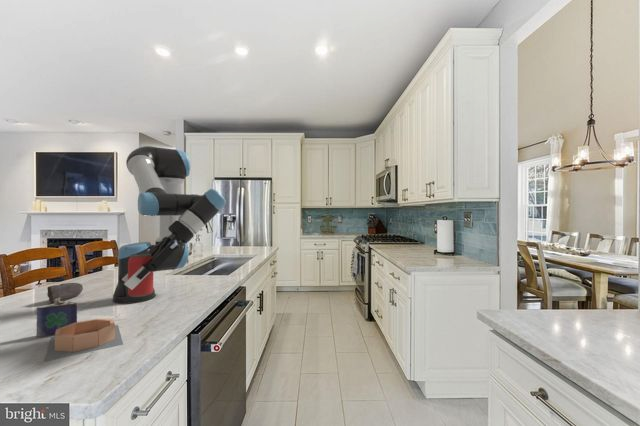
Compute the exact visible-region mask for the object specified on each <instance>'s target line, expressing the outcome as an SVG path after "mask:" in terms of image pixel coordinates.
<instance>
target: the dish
mask: <svg viewBox="0 0 640 426" xmlns="http://www.w3.org/2000/svg"><path fill="white" fill-rule="evenodd" d="M115 325H116V324H115V320H114V319H111V318H110V319H109V318H94V319H89V320H88V319H87V320H82V321H77V322H75V323H72V324H69V325H67V326H64V327H61V328H59V329H57V330H56V332H55V335H54V337H55V348H54V350H55V351H68V352H74V351H79V350H84V349H88V348H93V347H98V346H100V345H102V344H104V343H106V342H108V341H110V340H112V339H114V338H115Z"/></svg>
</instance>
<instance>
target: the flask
mask: <svg viewBox="0 0 640 426" xmlns="http://www.w3.org/2000/svg"><path fill="white" fill-rule="evenodd" d="M54 301H55V302H53V303H54V304H52V303H51V304H46V305H45V304H44V305H40V306H37V307H36V325H35V327H36V332H35V333H36V335H35V337H36V338H42V337H49V336H55V332H56V330H57V329H59V328H61V327H64V326H67V325H69V324H72V323H75V322H78V304H77V302H76V301H70V300H68V301H64V300H63V301H60V298H57V299H55V300H54Z"/></svg>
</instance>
